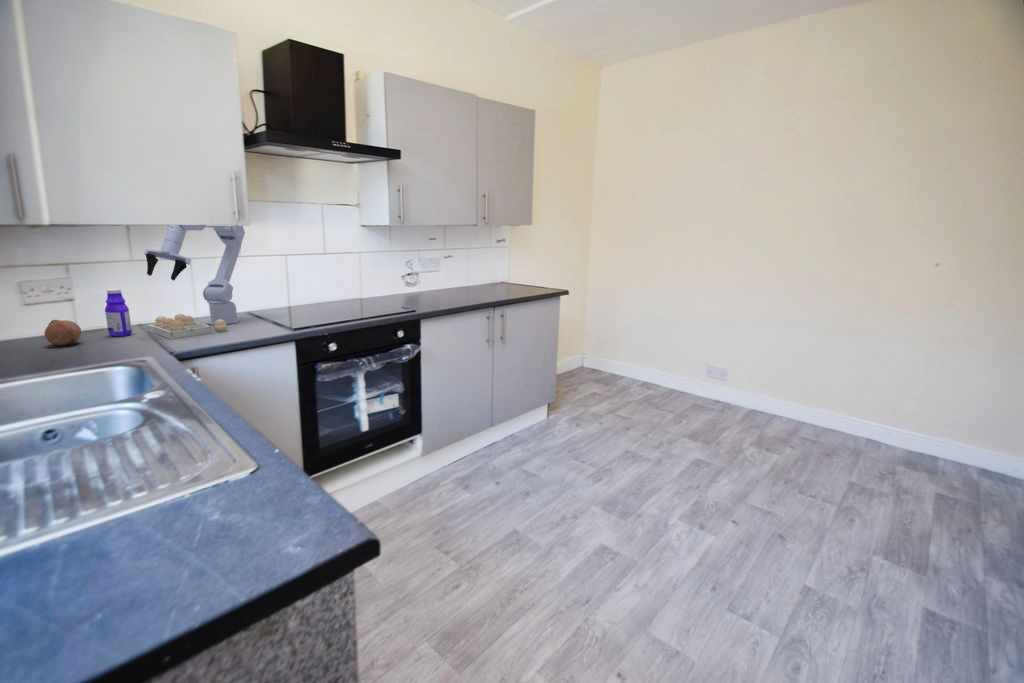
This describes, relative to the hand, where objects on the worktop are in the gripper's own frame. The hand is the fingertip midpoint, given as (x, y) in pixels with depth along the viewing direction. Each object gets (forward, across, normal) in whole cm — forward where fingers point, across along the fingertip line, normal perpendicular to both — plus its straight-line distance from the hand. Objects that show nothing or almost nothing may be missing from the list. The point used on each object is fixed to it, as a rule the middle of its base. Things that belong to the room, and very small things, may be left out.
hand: (160, 277), depth 184 cm
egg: (+13, +20, +15) cm, 28 cm away
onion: (+30, -22, +5) cm, 37 cm away
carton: (+15, +6, +17) cm, 24 cm away
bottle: (+21, -12, +16) cm, 29 cm away
